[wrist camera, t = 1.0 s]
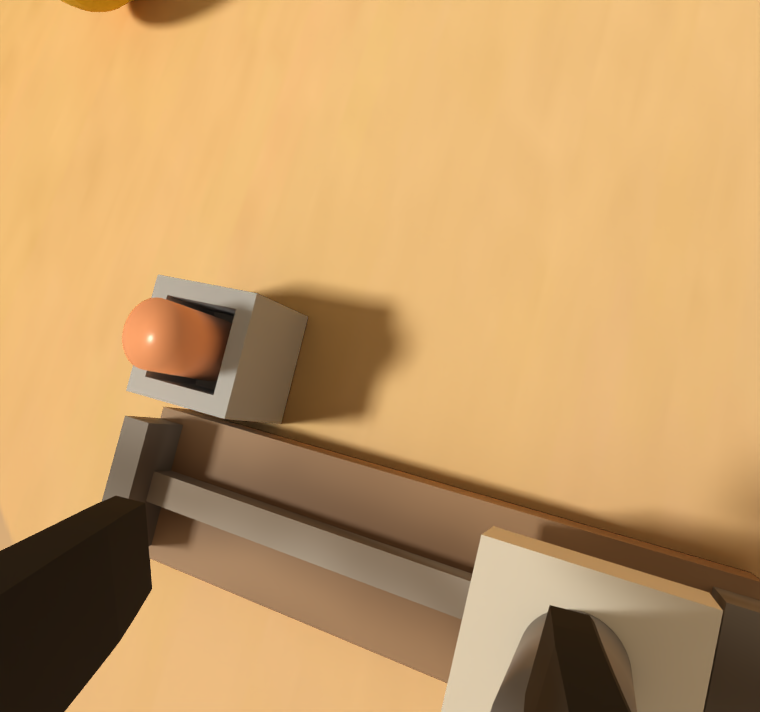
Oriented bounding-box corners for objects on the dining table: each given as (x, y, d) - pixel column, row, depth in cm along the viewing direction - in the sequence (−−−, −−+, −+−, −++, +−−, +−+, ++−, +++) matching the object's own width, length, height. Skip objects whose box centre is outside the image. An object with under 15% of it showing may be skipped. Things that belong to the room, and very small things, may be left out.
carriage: (671, 779, 16) (713, 975, 10) (456, 688, 18) (385, 804, 12) (709, 592, 16) (771, 674, 10) (493, 526, 18) (441, 561, 13)
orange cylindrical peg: (231, 387, 23) (170, 377, 20) (180, 374, 24) (114, 362, 20) (248, 324, 23) (190, 303, 20) (196, 313, 24) (133, 292, 21)
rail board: (712, 771, 18) (737, 842, 15) (151, 543, 26) (87, 556, 23) (751, 573, 18) (783, 599, 15) (186, 408, 26) (128, 403, 23)
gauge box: (281, 423, 25) (224, 419, 21) (193, 399, 26) (126, 390, 23) (308, 316, 25) (257, 293, 21) (219, 299, 27) (157, 274, 23)
